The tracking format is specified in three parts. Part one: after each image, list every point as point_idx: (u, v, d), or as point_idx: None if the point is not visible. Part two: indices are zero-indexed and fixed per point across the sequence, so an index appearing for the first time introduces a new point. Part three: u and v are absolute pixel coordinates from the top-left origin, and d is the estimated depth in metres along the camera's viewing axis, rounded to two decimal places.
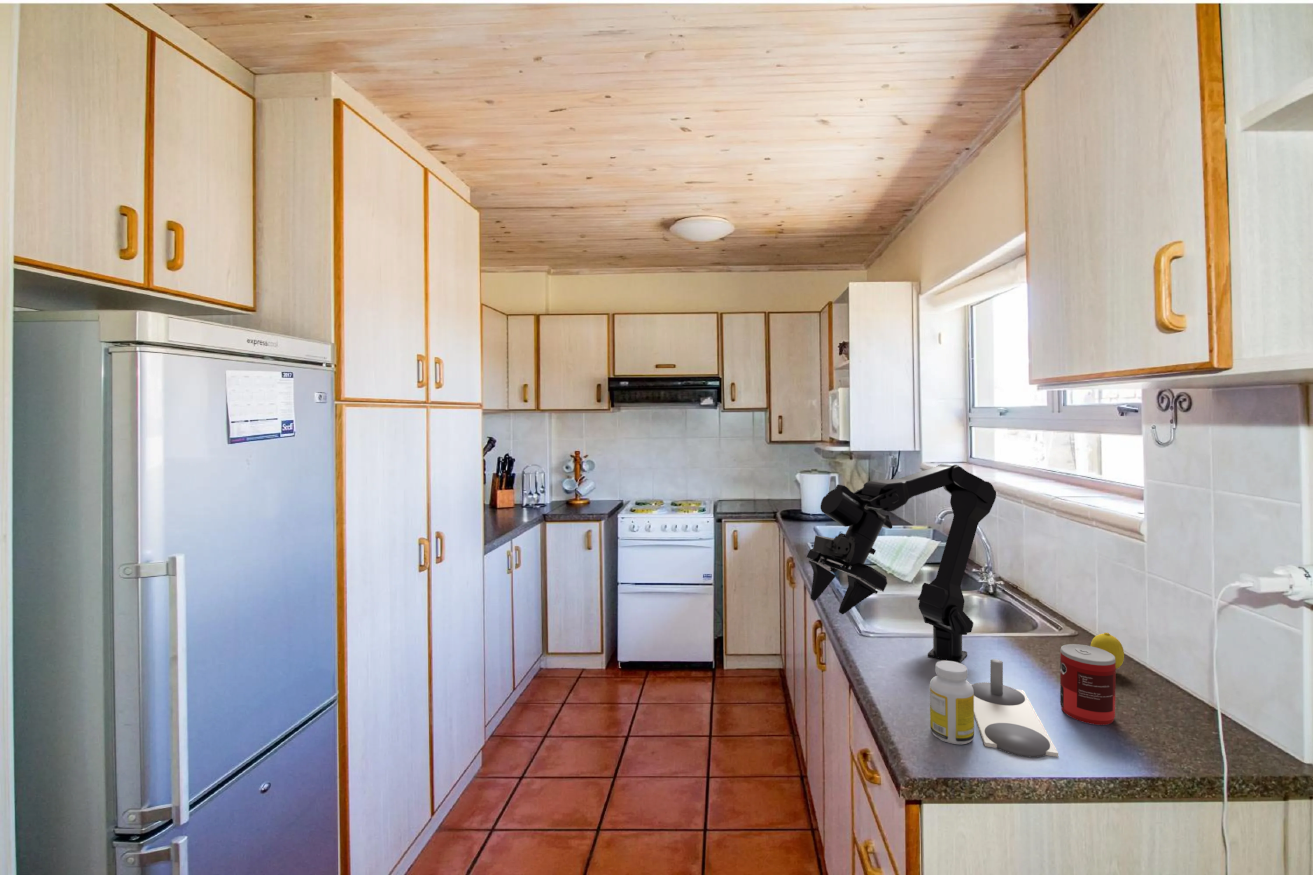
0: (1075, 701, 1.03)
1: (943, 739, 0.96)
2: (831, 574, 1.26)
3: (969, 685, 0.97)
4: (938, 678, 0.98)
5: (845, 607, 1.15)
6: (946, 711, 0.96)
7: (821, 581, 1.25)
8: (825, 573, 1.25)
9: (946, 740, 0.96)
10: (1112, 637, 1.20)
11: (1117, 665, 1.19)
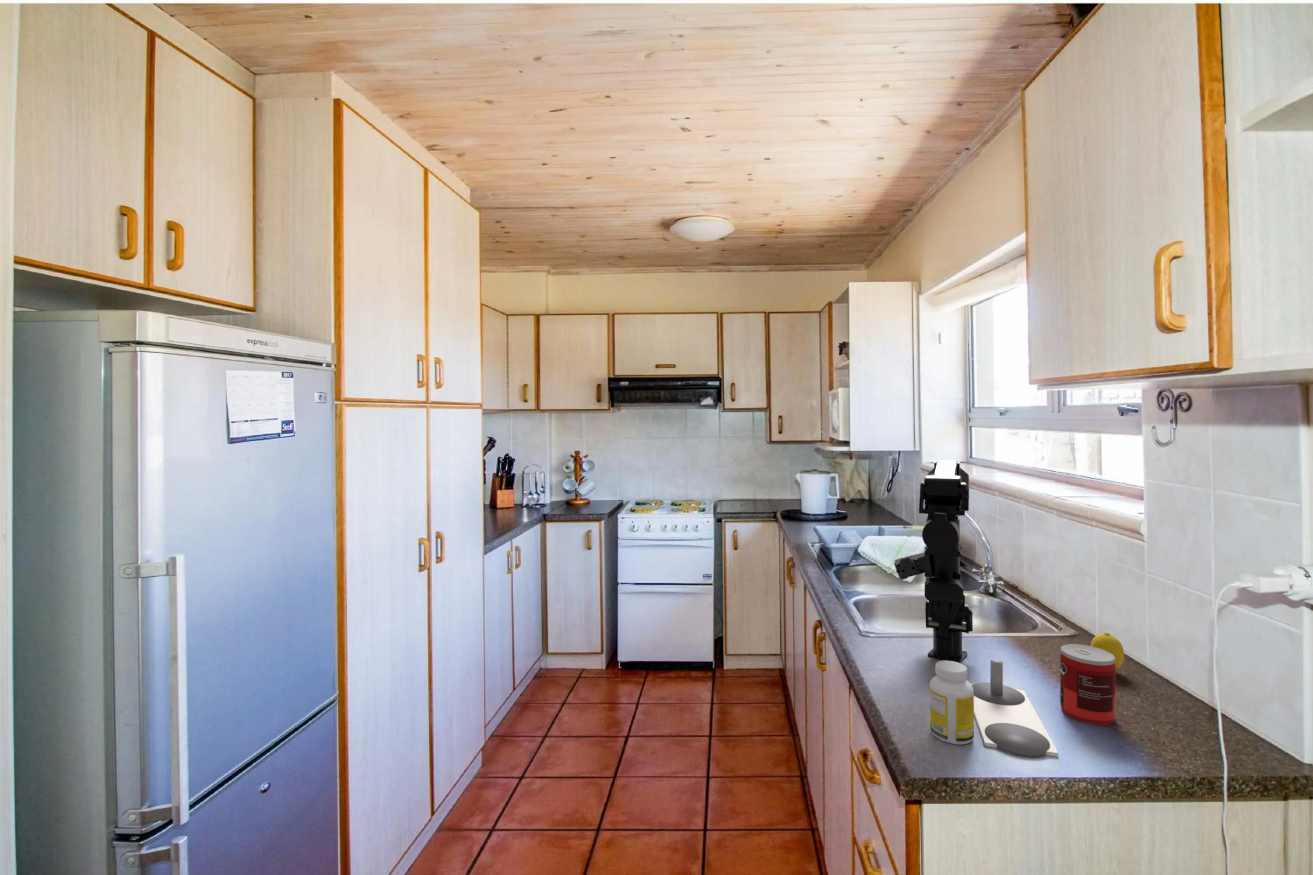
0: (1075, 701, 1.03)
1: (943, 739, 0.96)
2: None
3: (969, 685, 0.97)
4: (938, 678, 0.98)
5: (942, 625, 1.09)
6: (946, 711, 0.96)
7: None
8: None
9: (946, 740, 0.96)
10: (1112, 637, 1.20)
11: (1117, 665, 1.19)
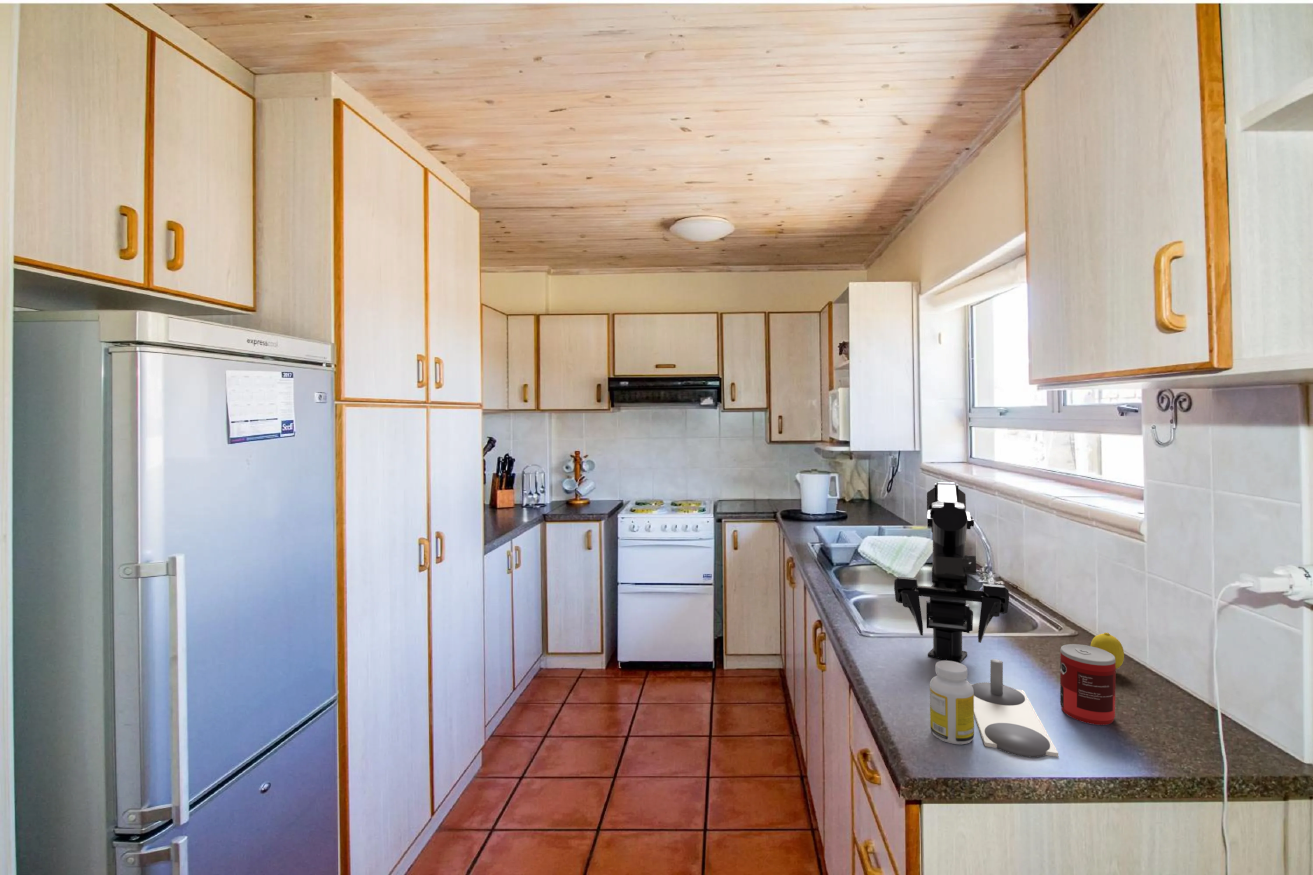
0: (1075, 701, 1.03)
1: (943, 739, 0.96)
2: None
3: (969, 685, 0.97)
4: (938, 678, 0.98)
5: (983, 634, 1.04)
6: (946, 710, 0.96)
7: None
8: None
9: (946, 740, 0.96)
10: (1112, 637, 1.20)
11: (1117, 665, 1.19)
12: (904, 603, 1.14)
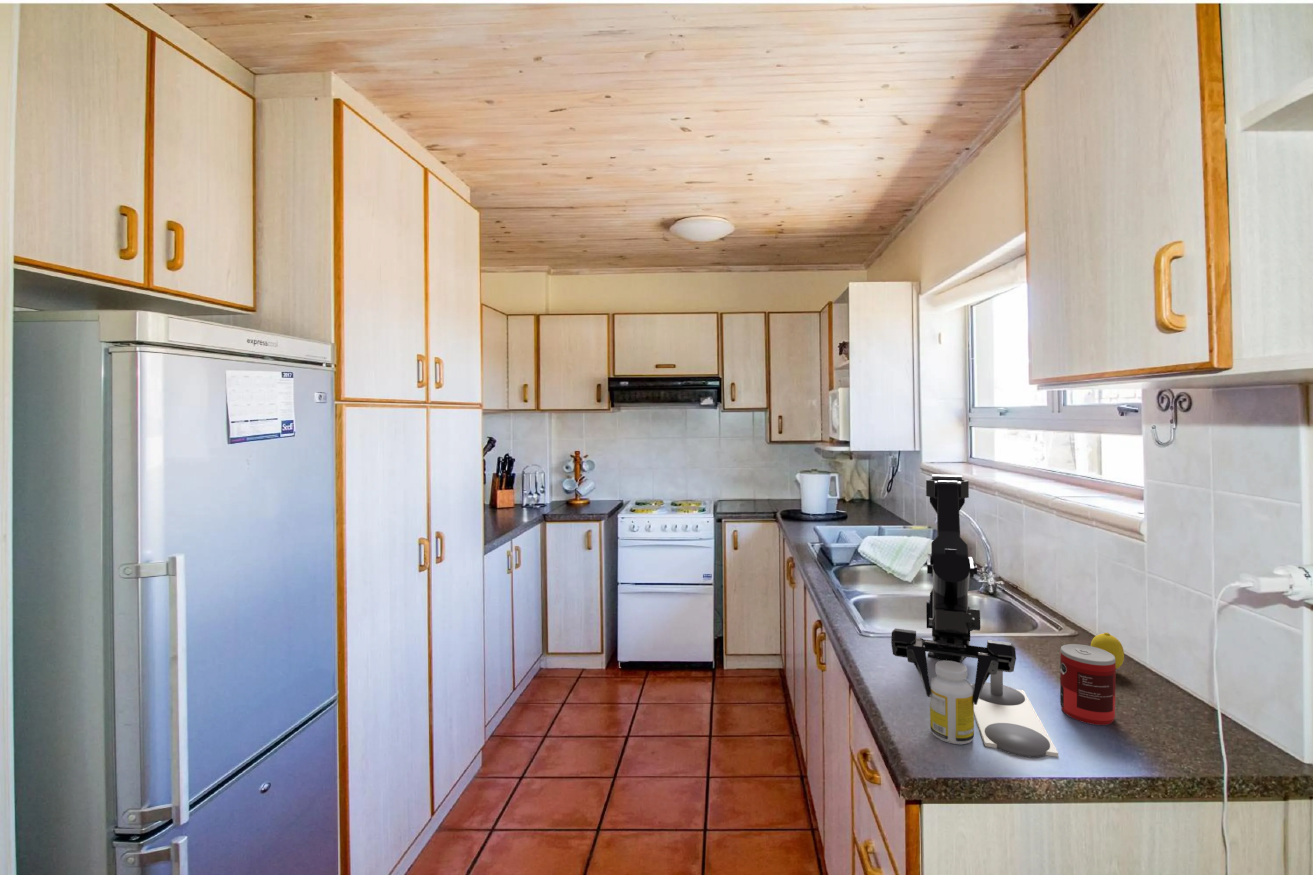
0: (1075, 701, 1.03)
1: (943, 739, 0.96)
2: None
3: (969, 685, 0.97)
4: (938, 678, 0.98)
5: (979, 695, 0.96)
6: (946, 710, 0.96)
7: None
8: None
9: (946, 740, 0.96)
10: (1112, 637, 1.20)
11: (1117, 665, 1.19)
12: (909, 658, 1.05)
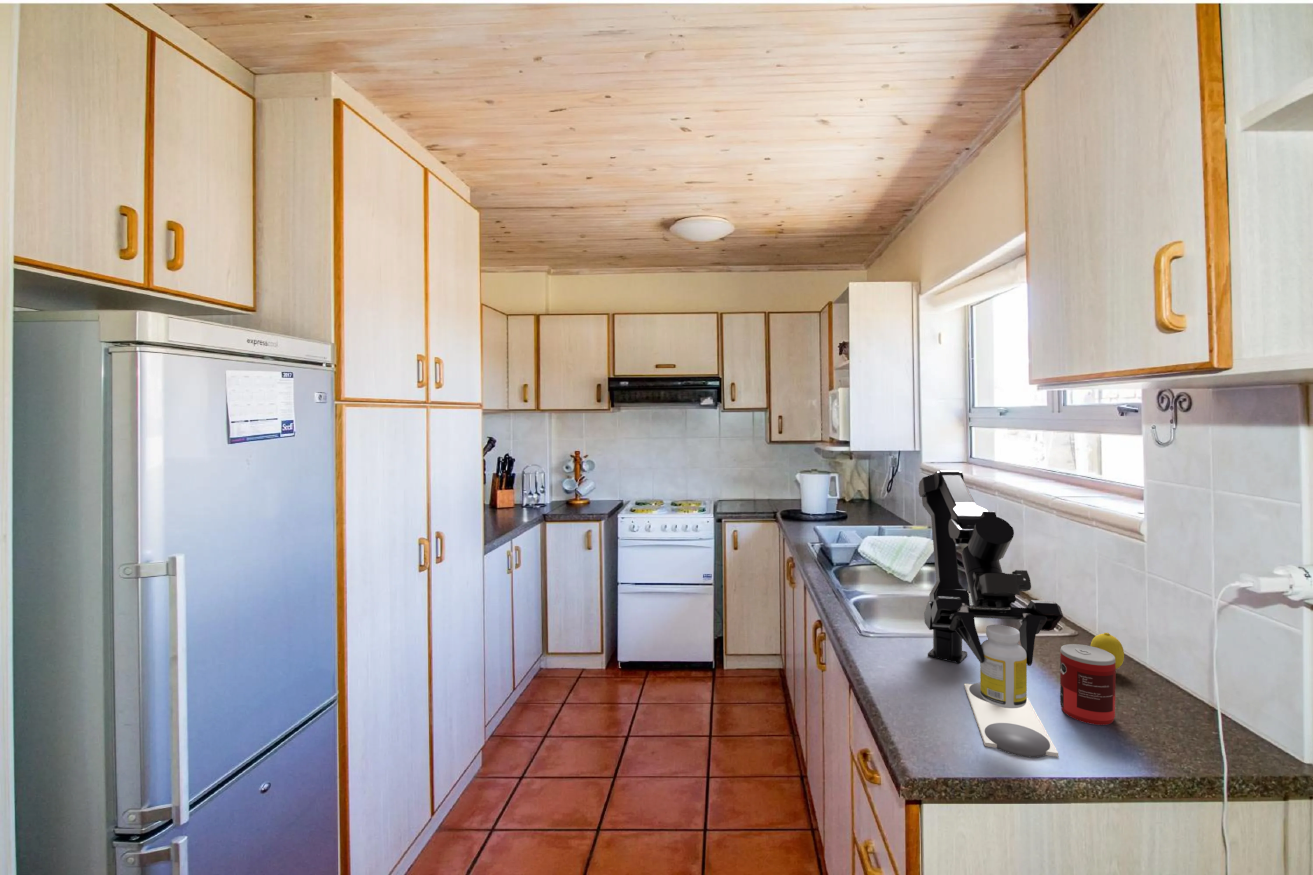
0: (1075, 701, 1.03)
1: (1000, 705, 0.94)
2: None
3: (1022, 647, 0.95)
4: (992, 642, 0.96)
5: None
6: (1004, 675, 0.93)
7: None
8: None
9: (1004, 705, 0.94)
10: (1112, 637, 1.20)
11: (1117, 665, 1.19)
12: (952, 626, 1.02)
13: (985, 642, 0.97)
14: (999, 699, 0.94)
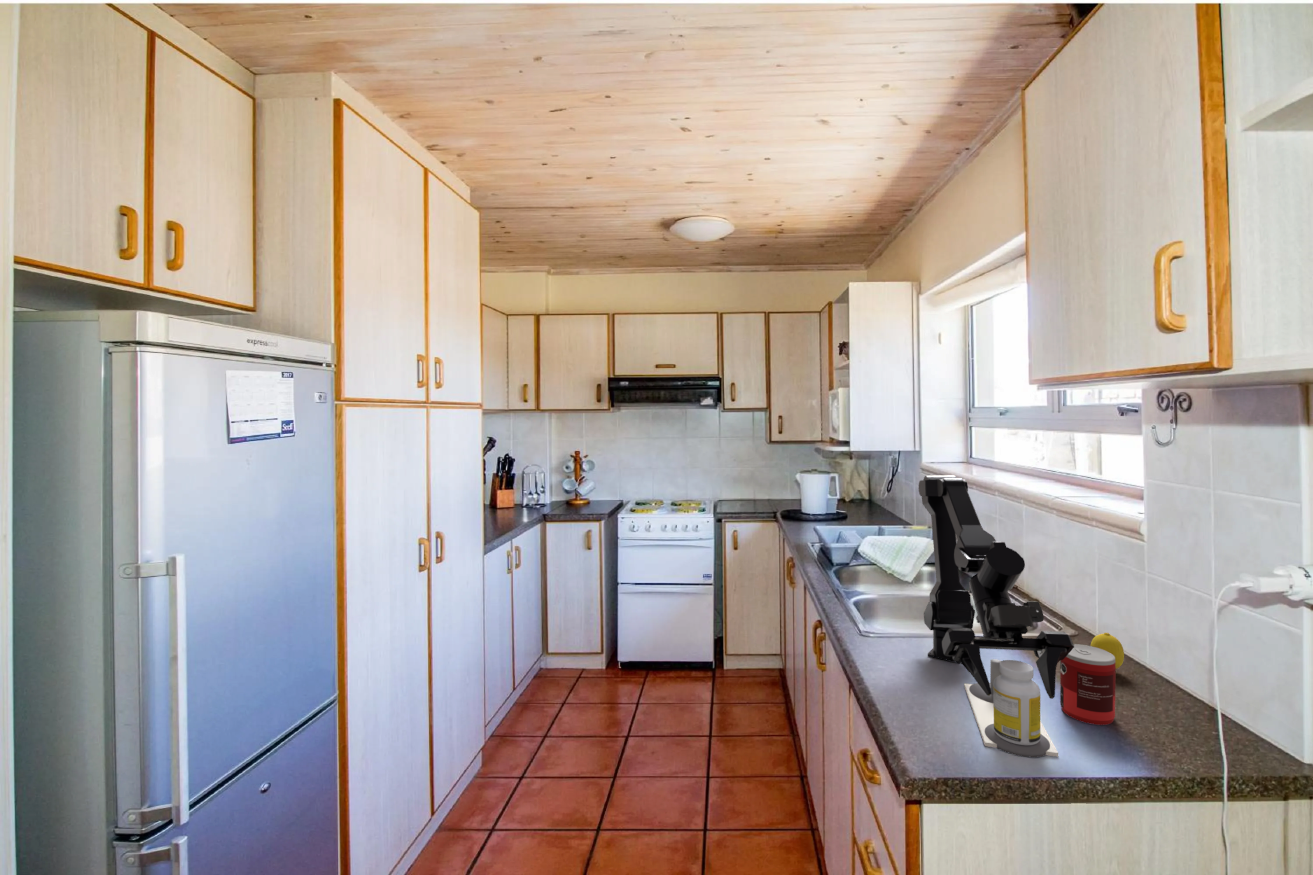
0: (1075, 701, 1.03)
1: (1015, 742, 0.94)
2: None
3: (1035, 683, 0.95)
4: (1006, 679, 0.96)
5: None
6: (1020, 712, 0.93)
7: None
8: None
9: (1019, 743, 0.94)
10: (1112, 637, 1.20)
11: (1117, 665, 1.19)
12: (957, 657, 1.01)
13: (998, 678, 0.97)
14: (1014, 736, 0.94)
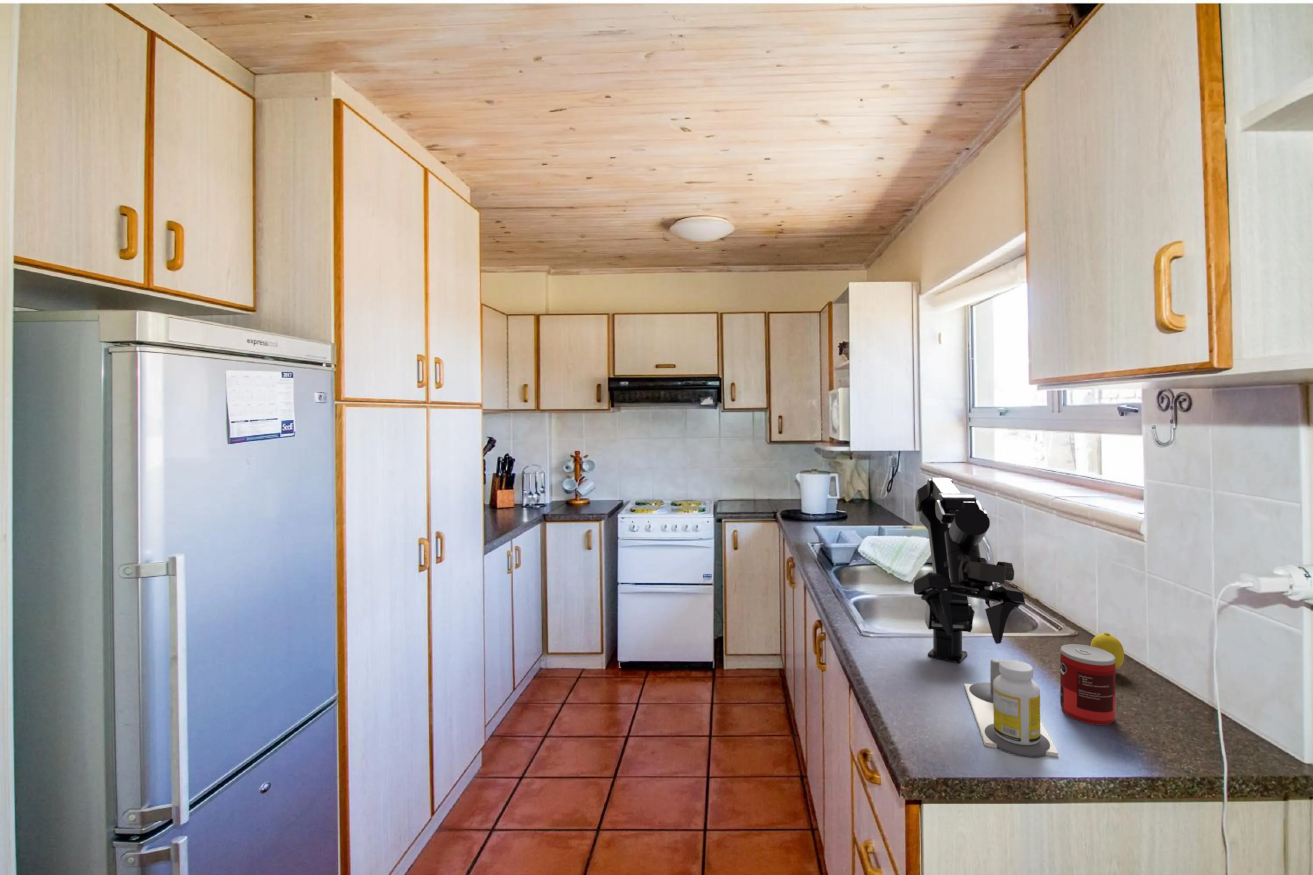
0: (1075, 701, 1.03)
1: (1015, 742, 0.94)
2: None
3: (1035, 683, 0.95)
4: (1006, 679, 0.96)
5: None
6: (1019, 712, 0.93)
7: None
8: None
9: (1019, 742, 0.94)
10: (1112, 637, 1.20)
11: (1117, 665, 1.19)
12: (926, 597, 1.11)
13: (998, 678, 0.97)
14: (1014, 736, 0.94)
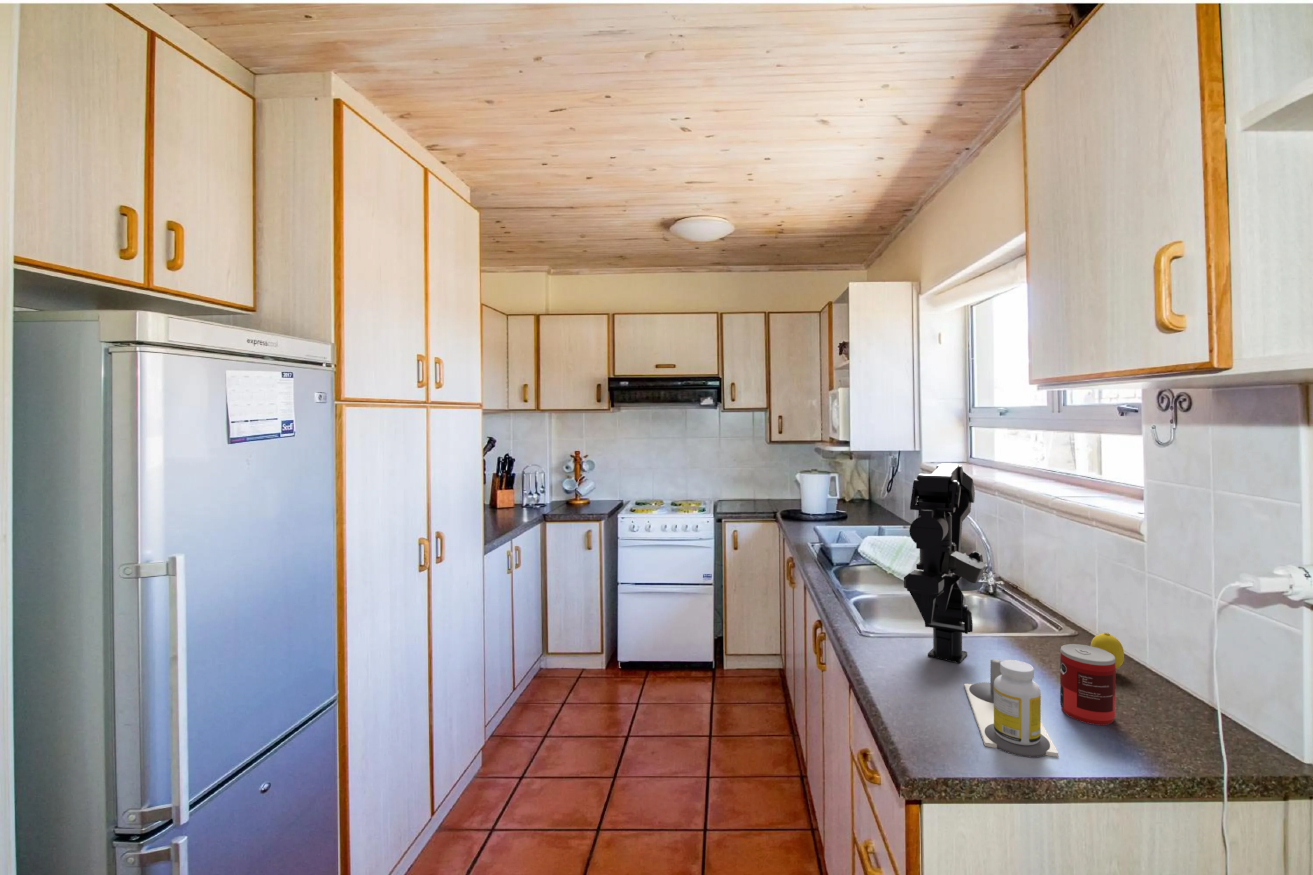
0: (1075, 701, 1.03)
1: (1016, 742, 0.94)
2: None
3: (1035, 683, 0.95)
4: (1007, 679, 0.96)
5: None
6: (1020, 712, 0.93)
7: None
8: None
9: (1019, 742, 0.94)
10: (1112, 637, 1.20)
11: (1117, 665, 1.19)
12: None
13: (999, 678, 0.97)
14: (1015, 736, 0.94)
